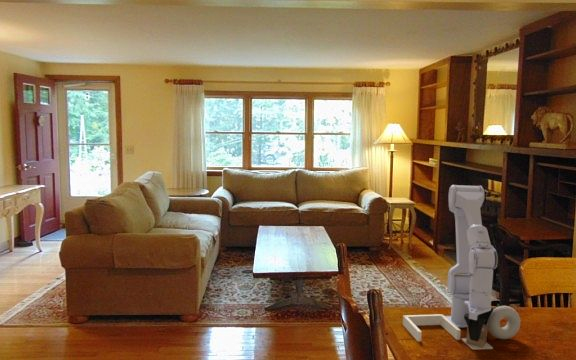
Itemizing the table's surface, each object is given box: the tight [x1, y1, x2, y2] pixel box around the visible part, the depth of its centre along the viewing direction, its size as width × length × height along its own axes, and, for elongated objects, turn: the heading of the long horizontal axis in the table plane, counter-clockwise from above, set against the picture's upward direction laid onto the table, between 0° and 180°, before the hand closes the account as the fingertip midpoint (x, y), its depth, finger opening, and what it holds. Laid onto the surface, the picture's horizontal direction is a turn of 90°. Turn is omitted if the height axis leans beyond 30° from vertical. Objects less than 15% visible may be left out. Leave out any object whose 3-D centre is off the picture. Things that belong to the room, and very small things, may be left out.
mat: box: [461, 337, 494, 350], centre depth 129 cm, size 6×6×1 cm
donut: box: [487, 305, 521, 340], centre depth 132 cm, size 10×4×10 cm, turn 98°
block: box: [465, 325, 489, 348], centre depth 129 cm, size 4×4×5 cm
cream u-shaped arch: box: [402, 313, 462, 343], centre depth 136 cm, size 13×12×3 cm
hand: (477, 335), depth 129 cm, fingers open, 6 cm apart
